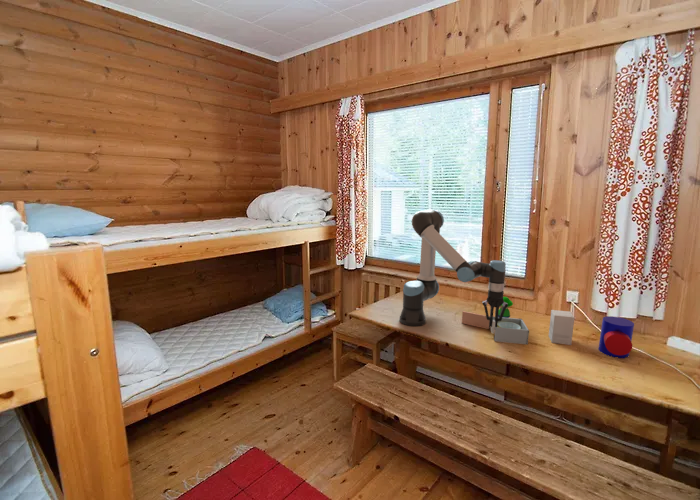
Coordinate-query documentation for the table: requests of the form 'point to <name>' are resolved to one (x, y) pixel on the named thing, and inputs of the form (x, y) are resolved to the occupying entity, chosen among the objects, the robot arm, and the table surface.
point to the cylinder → (616, 336)
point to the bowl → (508, 325)
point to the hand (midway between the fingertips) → (492, 332)
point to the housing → (512, 332)
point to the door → (475, 320)
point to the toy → (507, 312)
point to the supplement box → (561, 327)
